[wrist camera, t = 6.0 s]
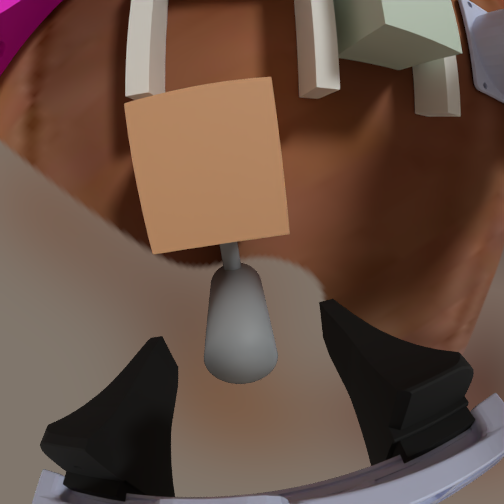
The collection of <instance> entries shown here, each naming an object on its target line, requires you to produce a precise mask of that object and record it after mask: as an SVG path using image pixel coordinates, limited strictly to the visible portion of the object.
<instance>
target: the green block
mask: <svg viewBox="0 0 504 504" xmlns="http://www.w3.org/2000/svg"><path fill="white" fill-rule="evenodd" d="M333 4H334V13H335V22H336V32H337V44H338V57H339V58H342V59H348V60H354V61H359V62H365V63H369V64H374V65H379V66H383V67H387V68H391V69H395V70H402V69H405V68H409V67H412V66H415V65H419V64H422V63H426V62H430V61H433V60H437V59H441V58H445V57H450V56H454V55H458V54H462V48H461V42H460V37H459V32H458V27H457V23H456V18H455V14H454V10H453V6H452V3H451V0H333Z"/></svg>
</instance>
